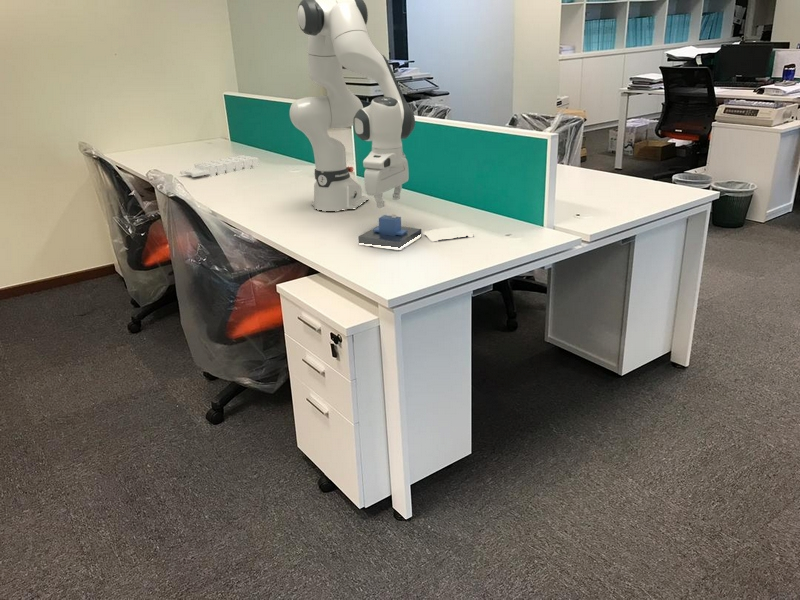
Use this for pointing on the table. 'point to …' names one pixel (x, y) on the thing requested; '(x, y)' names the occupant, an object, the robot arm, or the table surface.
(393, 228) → the block
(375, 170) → the robot arm
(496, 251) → the table surface
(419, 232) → the plate
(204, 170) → the organizer
